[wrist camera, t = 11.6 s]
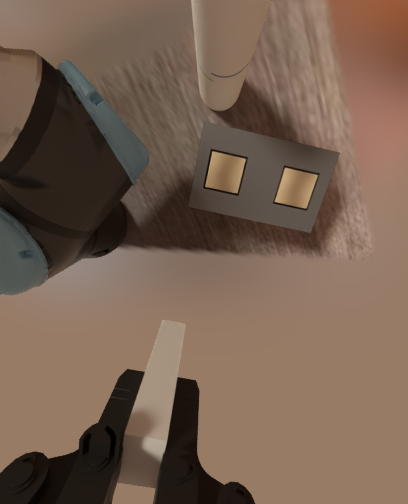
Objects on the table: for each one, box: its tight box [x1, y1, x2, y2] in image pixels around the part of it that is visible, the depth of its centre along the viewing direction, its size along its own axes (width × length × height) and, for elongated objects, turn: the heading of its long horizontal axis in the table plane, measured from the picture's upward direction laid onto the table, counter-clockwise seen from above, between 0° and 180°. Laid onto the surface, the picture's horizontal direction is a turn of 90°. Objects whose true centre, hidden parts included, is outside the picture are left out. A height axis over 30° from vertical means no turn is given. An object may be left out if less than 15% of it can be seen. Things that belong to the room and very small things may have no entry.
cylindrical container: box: [191, 0, 272, 111], centre depth 25 cm, size 7×7×25 cm
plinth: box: [188, 121, 340, 233], centre depth 37 cm, size 20×12×10 cm, turn 78°
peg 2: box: [274, 168, 318, 209], centre depth 36 cm, size 5×5×8 cm
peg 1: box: [205, 151, 246, 193], centre depth 36 cm, size 5×5×8 cm
